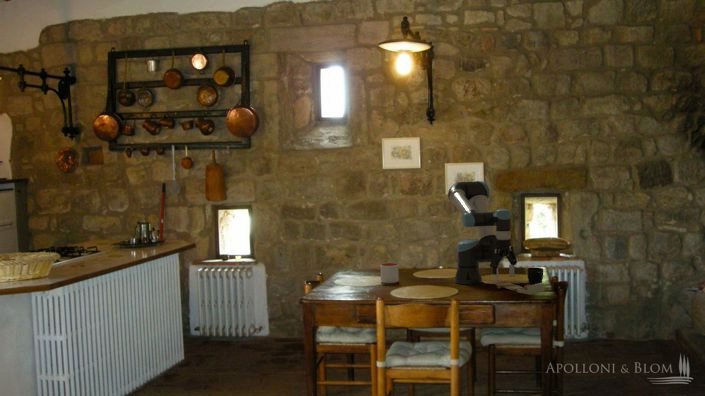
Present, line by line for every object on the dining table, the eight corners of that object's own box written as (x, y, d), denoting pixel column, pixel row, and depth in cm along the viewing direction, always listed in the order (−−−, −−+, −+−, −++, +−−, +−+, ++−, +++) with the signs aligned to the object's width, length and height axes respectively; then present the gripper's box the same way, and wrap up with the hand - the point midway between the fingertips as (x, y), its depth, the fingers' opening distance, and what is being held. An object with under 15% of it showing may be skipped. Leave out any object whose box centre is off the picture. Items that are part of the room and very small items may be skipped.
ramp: (496, 288, 357) (496, 283, 357) (504, 286, 362) (504, 281, 361) (519, 291, 346) (519, 286, 346) (527, 289, 350) (527, 284, 350)
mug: (532, 289, 350) (531, 271, 350) (525, 285, 362) (525, 267, 362) (547, 289, 351) (547, 270, 350) (540, 284, 363) (540, 267, 362)
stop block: (517, 292, 344) (517, 284, 344) (530, 289, 351) (530, 281, 351) (530, 294, 338) (530, 286, 338) (543, 291, 345) (543, 283, 345)
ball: (521, 288, 346) (525, 294, 343) (524, 283, 343) (528, 288, 340) (527, 287, 347) (532, 293, 344) (530, 282, 345) (534, 287, 342)
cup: (385, 284, 375) (384, 266, 374) (377, 281, 384) (377, 264, 384) (401, 282, 379) (401, 265, 378) (393, 279, 388) (393, 262, 387)
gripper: (494, 241, 345) (494, 282, 346) (523, 236, 361) (524, 276, 362) (482, 240, 351) (483, 281, 352) (512, 235, 367) (512, 274, 368)
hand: (504, 278), depth 357 cm, fingers open, 13 cm apart
